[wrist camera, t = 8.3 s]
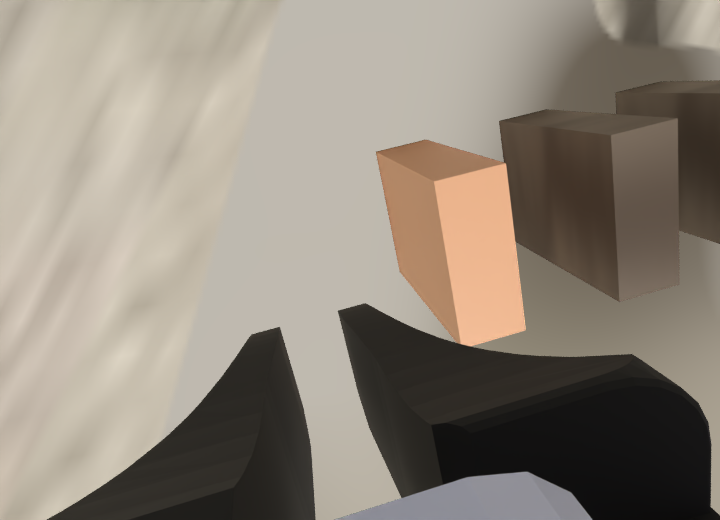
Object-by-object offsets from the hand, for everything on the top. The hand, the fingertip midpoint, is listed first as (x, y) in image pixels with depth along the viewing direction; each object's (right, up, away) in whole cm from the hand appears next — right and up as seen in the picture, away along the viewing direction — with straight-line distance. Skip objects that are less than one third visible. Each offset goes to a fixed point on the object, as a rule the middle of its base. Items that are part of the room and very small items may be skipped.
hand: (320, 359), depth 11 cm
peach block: (+3, +4, +10) cm, 11 cm away
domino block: (+8, +6, +10) cm, 14 cm away
